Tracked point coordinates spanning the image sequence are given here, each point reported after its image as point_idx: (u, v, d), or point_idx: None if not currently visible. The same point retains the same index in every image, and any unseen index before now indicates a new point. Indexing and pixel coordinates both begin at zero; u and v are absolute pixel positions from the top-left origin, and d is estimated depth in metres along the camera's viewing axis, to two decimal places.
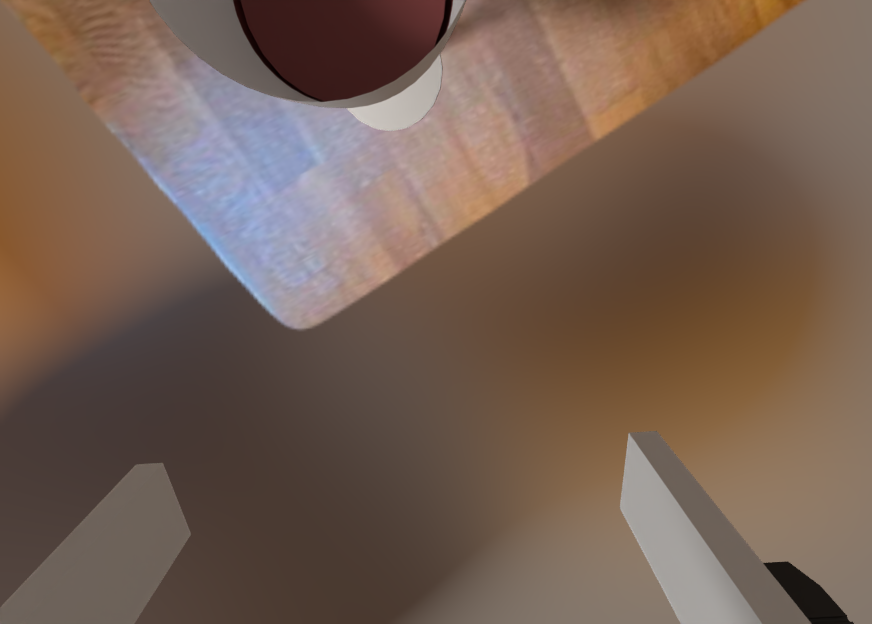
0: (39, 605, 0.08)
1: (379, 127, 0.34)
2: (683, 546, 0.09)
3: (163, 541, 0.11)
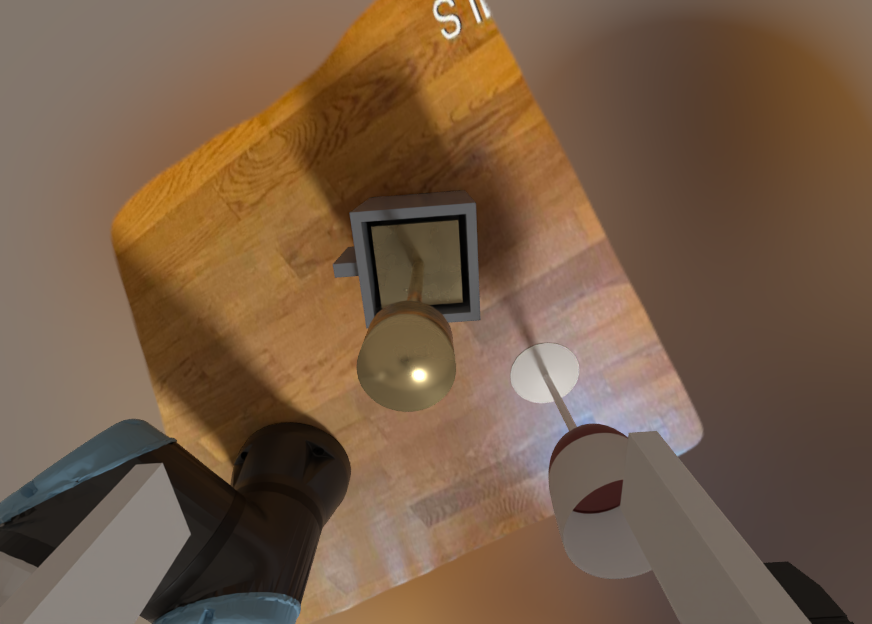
0: (39, 605, 0.08)
1: (576, 379, 0.52)
2: (683, 546, 0.09)
3: (163, 541, 0.11)
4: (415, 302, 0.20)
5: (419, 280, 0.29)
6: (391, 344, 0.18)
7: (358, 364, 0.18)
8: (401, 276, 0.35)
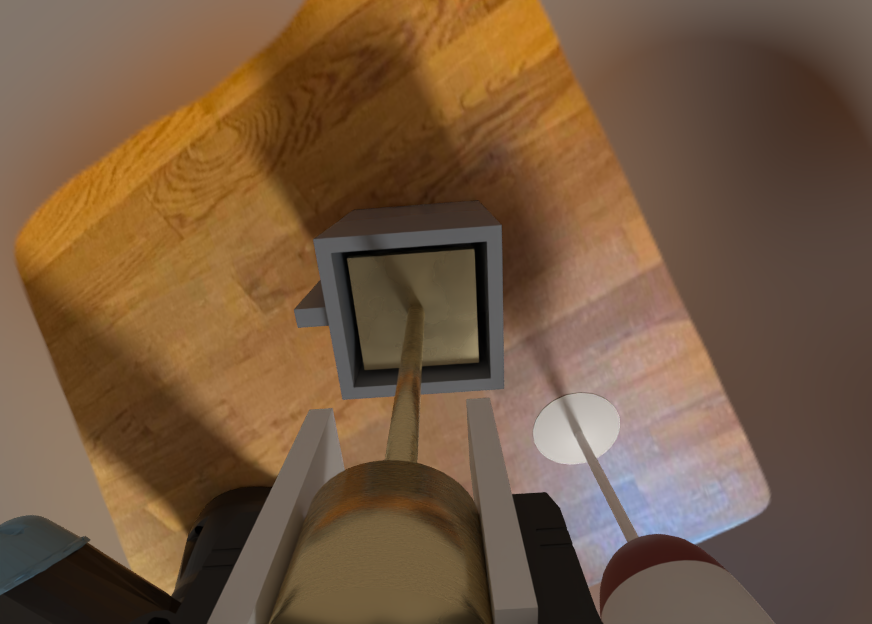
0: (294, 503, 0.10)
1: (615, 437, 0.41)
2: (475, 484, 0.11)
3: (335, 474, 0.13)
4: (404, 469, 0.09)
5: (416, 349, 0.19)
6: None
7: None
8: (392, 327, 0.25)
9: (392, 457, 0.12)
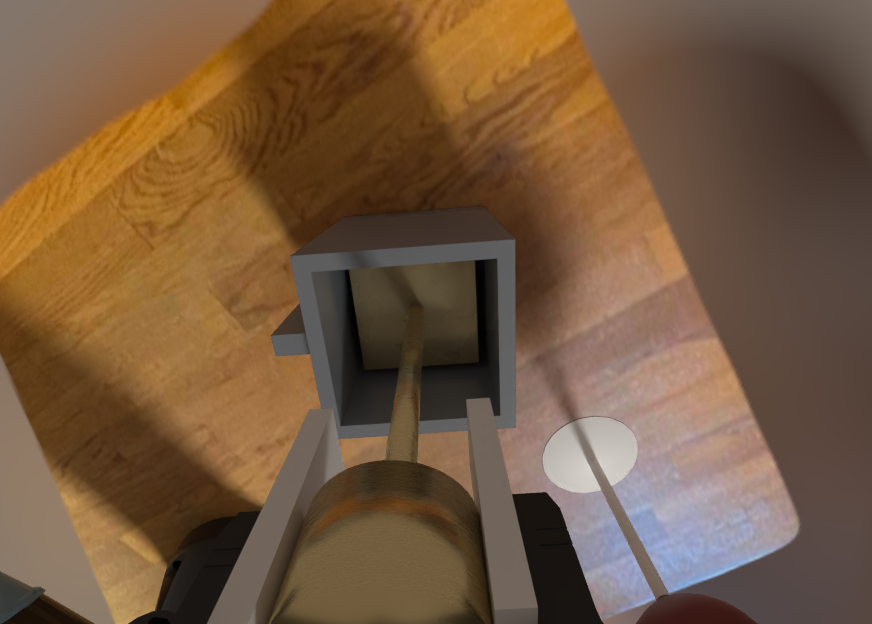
0: (294, 503, 0.10)
1: (632, 463, 0.38)
2: (475, 484, 0.11)
3: (335, 474, 0.13)
4: (404, 468, 0.09)
5: (416, 349, 0.19)
6: None
7: None
8: (391, 327, 0.25)
9: (392, 457, 0.12)
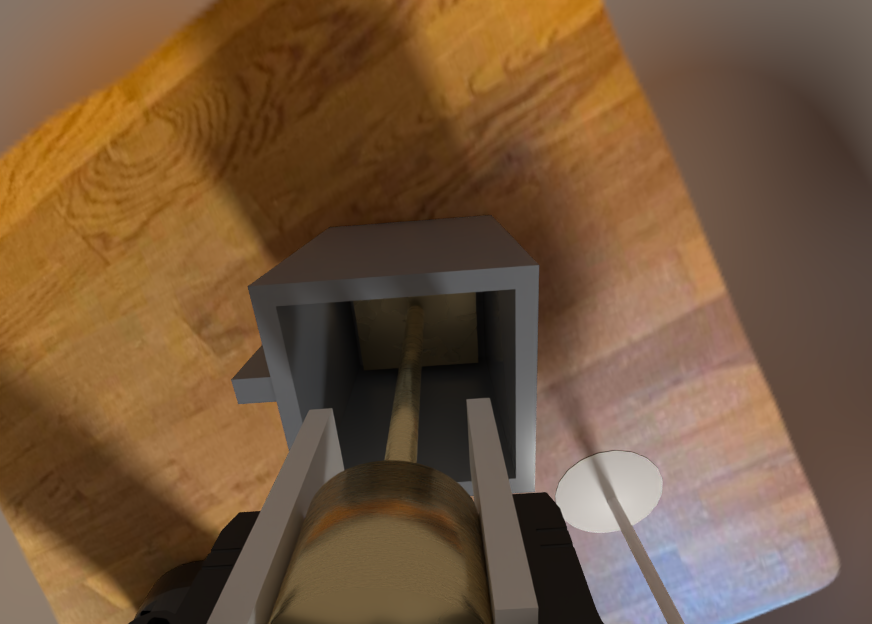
0: (294, 503, 0.10)
1: (656, 501, 0.34)
2: (475, 484, 0.11)
3: (335, 474, 0.13)
4: (403, 469, 0.09)
5: (416, 349, 0.19)
6: None
7: None
8: (391, 327, 0.25)
9: (392, 457, 0.12)
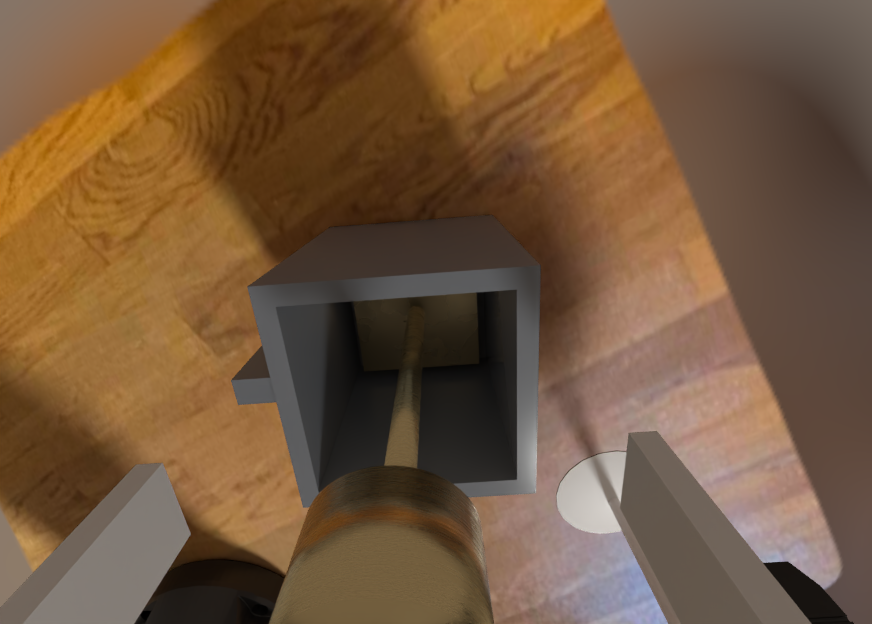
0: (39, 605, 0.08)
1: None
2: (683, 546, 0.09)
3: (163, 541, 0.11)
4: (403, 474, 0.09)
5: (416, 351, 0.19)
6: None
7: None
8: (391, 328, 0.24)
9: (392, 461, 0.12)
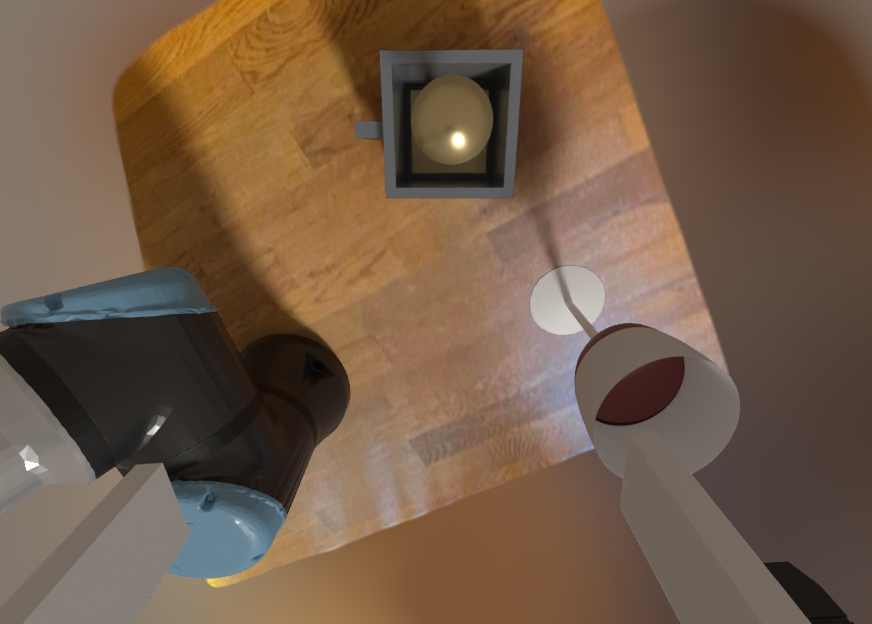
0: (39, 605, 0.08)
1: (600, 310, 0.48)
2: (683, 546, 0.09)
3: (163, 541, 0.11)
4: None
5: None
6: (442, 94, 0.22)
7: (413, 112, 0.22)
8: None
9: None
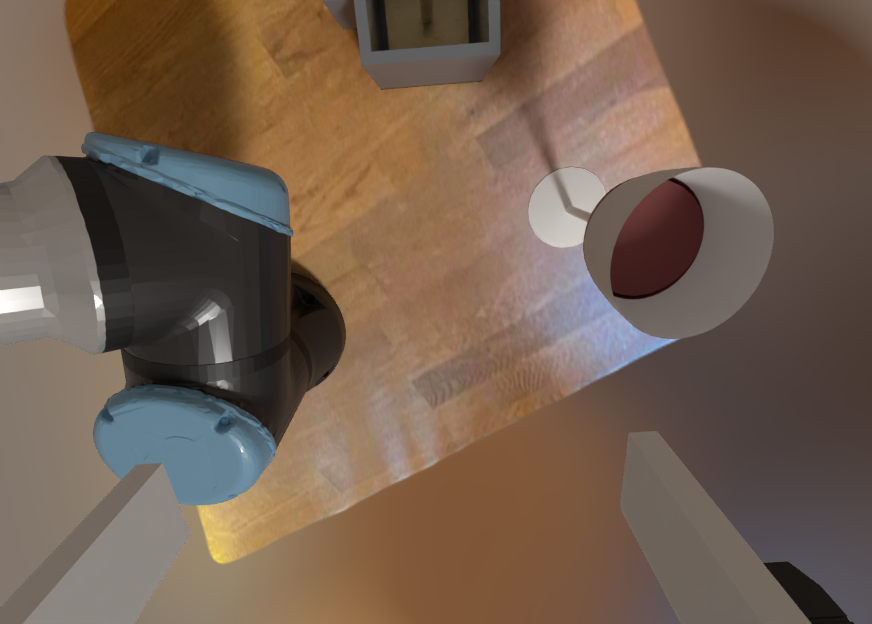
0: (39, 605, 0.08)
1: None
2: (683, 546, 0.09)
3: (163, 541, 0.11)
4: None
5: None
6: None
7: None
8: (410, 28, 0.36)
9: None
